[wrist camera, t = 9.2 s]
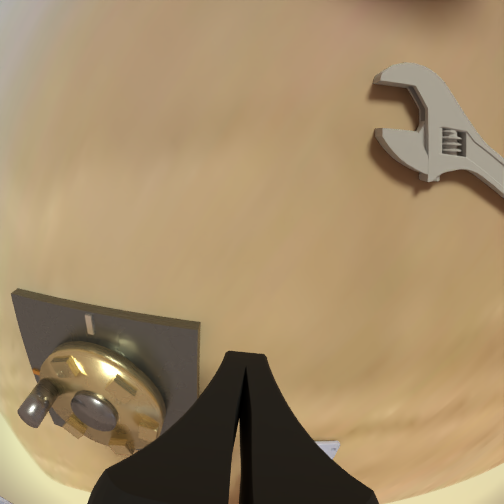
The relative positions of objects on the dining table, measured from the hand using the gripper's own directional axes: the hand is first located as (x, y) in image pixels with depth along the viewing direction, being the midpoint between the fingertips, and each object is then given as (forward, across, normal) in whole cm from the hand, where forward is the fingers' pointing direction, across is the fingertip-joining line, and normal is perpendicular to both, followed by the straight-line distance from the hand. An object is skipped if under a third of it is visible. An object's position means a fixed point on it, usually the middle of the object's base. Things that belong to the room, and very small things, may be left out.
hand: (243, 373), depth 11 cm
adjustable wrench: (+10, -18, -8) cm, 22 cm away
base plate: (+9, +11, +12) cm, 19 cm away
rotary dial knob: (+8, +11, +12) cm, 18 cm away
